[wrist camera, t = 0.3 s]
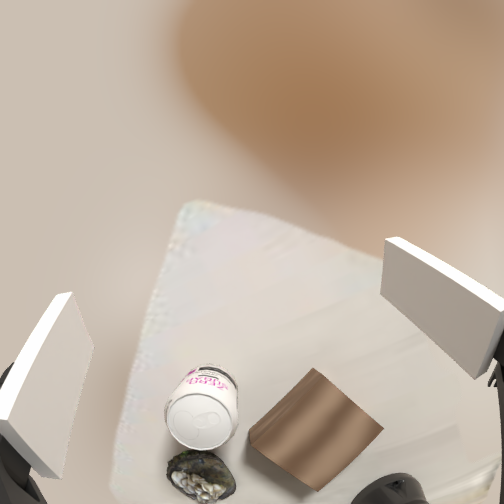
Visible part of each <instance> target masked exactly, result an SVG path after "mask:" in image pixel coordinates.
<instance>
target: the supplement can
mask: <svg viewBox="0 0 504 504" xmlns="http://www.w3.org/2000/svg"><path fill="white" fill-rule="evenodd" d="M164 414H165V422H166V425H167V427H168V429H169V431H170V433H171V434H172V436H173V437H174V438H175V439H176V440H177V441H178V442H179V443H181V444H183V445H185V446H186V447H188V448H191V449H196V450H210V449H214V448H216V447H219V446H221V445H223V444H225V443H226V442H227V441H228V440H229V439H230V438H231V437H232V436H233V435H234V433H235V431H236V429H237V426H238V386H237V383H236V381H235V378H234V377H233V375H232V374H231V373H230V372H229V371H228V370H227V369H225V368H223V367H221V366H220V365H215V364H203V365H199V366H197V367H195V368H193V369H192V370H191V371H190V372H189V373H188V374H187V375H186V376H185V378H184V379H183V380H182V382H181V383H180V384H179V386H178V387H177V388H176V389H175V391H174V392H173V393H172V395H171V396H170V397H169V398H168V400H167V403H166V406H165V409H164Z"/></svg>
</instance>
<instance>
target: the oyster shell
mask: <svg viewBox="0 0 504 504" xmlns="http://www.w3.org/2000/svg"><path fill="white" fill-rule="evenodd" d="M166 475H167V478H168V479H169V480H170V481H171V483H172V484H173V485H174V486H175V487H176V488H178V489H179V490H180V491H181V492H183V493H184V494H186V495H187V496H188V497H191V498H192V499H198V501H199V502H200V503H208V504H214V503H216V501H217V499H224V498H226V497H228V496H229V495H230V494H233V493H234V492H235V490H236V483H235V480H234V478H233V476H232V474H231V472H230V471H229V469H228V468H227V467H226V465H225V464H224V462H223V461H222V460H221V459H220V458H218V457H217V456H216V455H214V454H212V453H210V452H208V451H206V450H188V451H184V452H182V453H181V454H179V455H178V456H174V458H173V459H172V460H171V461H169V462H168V467H167V474H166Z"/></svg>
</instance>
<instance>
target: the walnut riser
mask: <svg viewBox="0 0 504 504" xmlns="http://www.w3.org/2000/svg"><path fill="white" fill-rule="evenodd" d="M383 429H384V428H383V427H382V426H381V425H379V424H378V423H377V422H376V421H375V420H374V419H372V418H371V417H370V416H369V415H368V414H367V413H365V412H364V411H363V410H362V409H361V408H360V407H359V406H357V405H356V404H355V403H354V402H353V401H352V400H351V399H349V398H348V397H347V396H346V395H345V394H344V393H343V392H341V391H340V390H339V389H338V388H337V387H336V386H335V385H334V384H332V383H331V382H330V381H329V380H328V379H327V378H326V377H325V376H324V375H322V374H321V373H319V372H318V371H317V370H315V369H314V368H312V369H311V370H310V371H309V372H308V373H307V374H306V375H305V376H304V377H303V379H302V380H301V381H300V382H299V383H298V384H297V385H296V386H295V387H294V388H293V389H292V390H291V391H290V392H289V393H288V394H287V395H286V396H285V397H284V398H283V399H282V400H281V401H279V402H278V403H277V404H276V405H275V406H274V407H273V408H272V409H271V410H270V411H269V412H268V413H267V414H266V415H265V416H264V417H263V418H261V419H260V420H259V421H258V422H257V423H256V424H255V425H254V426H253V427H252V428H250V429H249V434H250V443H251V446H253V447H254V448H255V449H256V450H258V451H259V452H260V453H262V454H263V455H264V456H266V457H267V458H268V459H270V460H271V461H273V462H274V463H275V464H277V465H278V466H280V467H281V468H282V469H284V470H285V471H287V472H288V473H290V474H291V475H293V476H294V477H296V478H297V479H299V480H300V481H302V482H303V483H305V484H306V485H308V486H309V487H311V488H313V489H314V490H316V491H317V492H318V491H319V490H320V489H322V488H323V487H324V486H325V485H326V484H328V483H329V482H330V481H331V480H332V479H333V478H334V477H336V476H337V475H338V474H339V473H340V472H341V471H342V470H343V469H344V468H346V467H347V466H348V465H349V464H350V463H351V462H352V461H353V460H354V459H355V458H356V457H357V456H358V455H359V454H360V453H361V452H362V451H363V450H364V449H365V448H366V447H367V446H368V445H369V444H370V443H371V442H372V441H373V440H374V439H375V438H376V437H377V436H378V435H379V433H380V432H381V431H382V430H383Z"/></svg>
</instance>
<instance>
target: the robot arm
mask: <svg viewBox="0 0 504 504" xmlns="http://www.w3.org/2000/svg"><path fill="white" fill-rule="evenodd" d="M380 294H381V295H382V296H383V297H384V298H385V299H386V300H388V301H389V302H390V303H391V304H392V305H393V306H395V307H396V308H397V309H398V310H399V311H400V312H401V313H402V314H404V315H405V316H406V317H407V318H408V319H409V320H410V321H412V322H413V323H414V324H415V325H416V326H417V327H418V328H419V329H420V330H422V331H423V332H424V333H425V334H426V335H427V336H428V337H429V338H430V339H431V340H433V341H434V342H435V343H436V344H437V345H438V346H439V347H440V348H441V349H442V350H443V351H444V352H446V353H447V354H448V355H449V356H450V357H451V358H452V359H453V360H454V361H456V363H457V364H458V365H459V366H460V367H461V368H463V369H464V370H465V371H466V372H467V373H468V374H469V375H470V376H471V377H472V378H473V379H474V380H475V379H476V378H478V377H479V376H481V375H482V374H484V373H485V372H487V370H488V368H489V366H490V363H491V361H492V359H493V358H494V359H495V360H497V361H498V362H497V365H496V367H495V369H494V371H493V373H492V376H491V377H490V379H489V381H488V387H490V386H491V384H492V382H493V380H494V379H496V383H495V384H494V387H497V389H498V398H499V406H500V419H501V438H502V475H501V492H500V504H504V299H503V298H502V297H500V296H499V295H497V294H496V293H494V292H492V291H491V290H489V289H488V288H486V287H484V286H483V285H482V284H480V283H478V282H477V281H475V280H473V279H471V278H470V277H468V276H467V275H465V274H463V273H462V272H460V271H458V270H457V269H455V268H453V267H452V266H450V265H448V264H446V263H445V262H443V261H441V260H439V259H438V258H436V257H434V256H433V255H431V254H429V253H427V252H425V251H424V250H422V249H420V248H418V247H416V246H415V245H413V244H411V243H409V242H407V241H406V240H404V239H402V238H400V237H393V238H388V239H385V247H384V260H383V272H382V282H381V291H380ZM93 351H94V346H93V343H92V341H91V339H90V336H89V334H88V332H87V329H86V326H85V324H84V321H83V319H82V317H81V314H80V311H79V308H78V306H77V303H76V300H75V297H74V294H73V292H68V293H62V294H57V295H56V297H55V298H54V299H53V301H52V302H51V304H50V305H49V307H48V309H47V310H46V311H45V313H44V314H43V316H42V318H41V319H40V321H39V323H38V324H37V325H36V327H35V329H34V330H33V332H32V334H31V335H30V337H29V339H28V340H27V342H26V344H25V345H24V347H23V349H22V351H21V353H20V354H19V356H18V357H17V359H16V361H15V362H13V363H12V364H11V365H10V366H9V367H8V368H7V369H6V370H5V371H4V373H3V375H2V376H1V378H0V504H47V502H46V500H45V499H44V497H43V495H42V494H41V492H40V490H39V488H38V486H37V485H36V483H35V481H34V480H33V478H32V477H31V476H30V475H29V472H30V468H31V467H32V468H33V469H34V470H35V471H36V472H37V473H38V474H39V475H40V476H41V477H47V478H53V479H62V474H63V469H64V463H65V458H66V452H67V448H68V443H69V439H70V434H71V430H72V426H73V422H74V417H75V413H76V409H77V406H78V402H79V398H80V394H81V391H82V387H83V384H84V380H85V377H86V374H87V370H88V367H89V364H90V360H91V357H92V354H93ZM351 504H429V503H428V502H427V501H426V498H425V495H424V493H423V490H422V487H421V485H420V483H419V482H418V481H417V480H416V479H415V478H414V477H412V476H411V475H409V474H406V473H395V474H390V475H387V476H384V477H382V478H380V479H378V480H376V481H374V482H373V483H371V484H370V485H368V486H367V487H366V488H364V489H363V490H362V491H361V492H360V493H359V494H358V495H357V496H356V498H355V499H354V500H353V502H352V503H351Z"/></svg>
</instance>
